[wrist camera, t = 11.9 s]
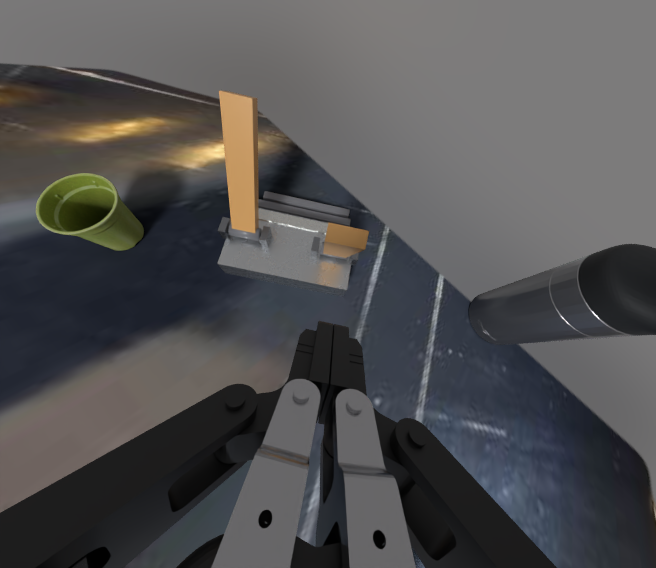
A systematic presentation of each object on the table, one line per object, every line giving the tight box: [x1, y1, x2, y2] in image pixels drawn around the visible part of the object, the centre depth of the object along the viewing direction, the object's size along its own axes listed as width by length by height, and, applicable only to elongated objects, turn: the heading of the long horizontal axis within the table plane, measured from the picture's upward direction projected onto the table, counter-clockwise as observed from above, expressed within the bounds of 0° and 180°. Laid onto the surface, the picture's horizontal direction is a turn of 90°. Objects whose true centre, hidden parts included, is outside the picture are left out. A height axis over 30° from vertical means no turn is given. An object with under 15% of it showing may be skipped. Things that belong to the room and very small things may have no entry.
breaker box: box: [217, 208, 359, 297], centre depth 38 cm, size 11×21×6 cm, turn 80°
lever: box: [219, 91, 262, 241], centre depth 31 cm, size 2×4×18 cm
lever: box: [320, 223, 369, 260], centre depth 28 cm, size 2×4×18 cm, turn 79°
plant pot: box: [36, 173, 144, 250], centre depth 35 cm, size 9×9×9 cm
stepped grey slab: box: [258, 191, 351, 227], centre depth 43 cm, size 3×18×1 cm, turn 80°
